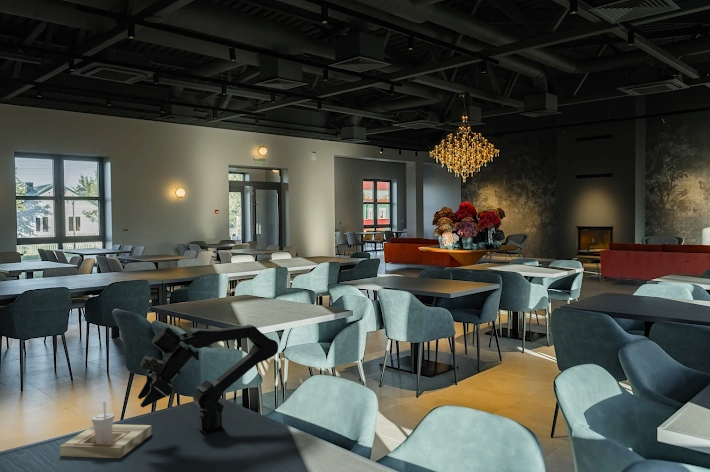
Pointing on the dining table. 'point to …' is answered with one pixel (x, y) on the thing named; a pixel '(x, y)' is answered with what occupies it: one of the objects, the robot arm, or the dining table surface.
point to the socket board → (117, 448)
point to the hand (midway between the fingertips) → (140, 402)
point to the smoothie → (103, 426)
